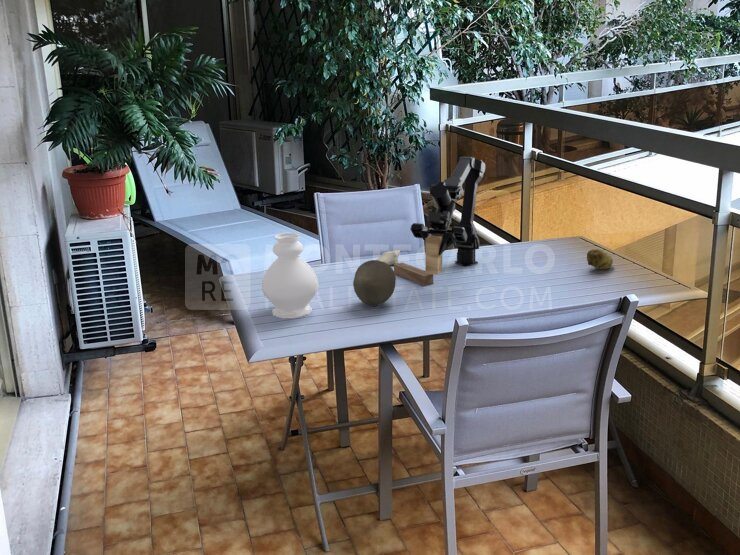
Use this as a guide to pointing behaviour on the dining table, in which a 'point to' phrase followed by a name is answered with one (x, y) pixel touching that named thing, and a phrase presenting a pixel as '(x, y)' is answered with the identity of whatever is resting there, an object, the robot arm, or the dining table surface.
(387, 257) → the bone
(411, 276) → the brown wooden bar
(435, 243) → the oak post
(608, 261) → the olive green oval lump
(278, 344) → the dining table surface
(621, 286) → the dining table surface
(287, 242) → the decorative vase
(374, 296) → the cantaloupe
